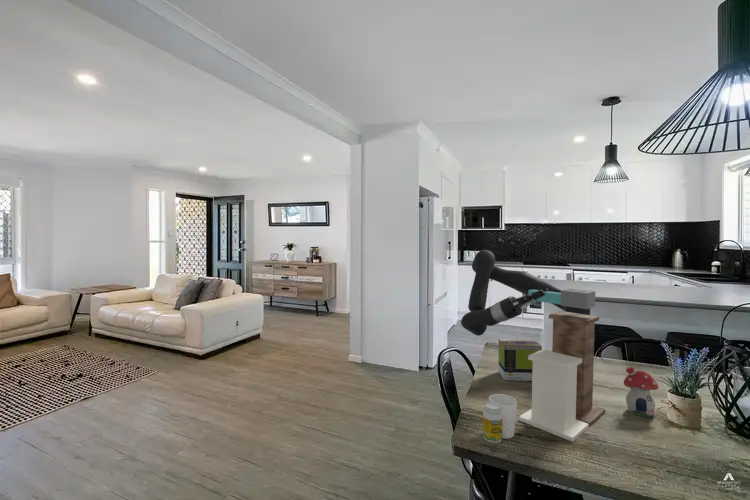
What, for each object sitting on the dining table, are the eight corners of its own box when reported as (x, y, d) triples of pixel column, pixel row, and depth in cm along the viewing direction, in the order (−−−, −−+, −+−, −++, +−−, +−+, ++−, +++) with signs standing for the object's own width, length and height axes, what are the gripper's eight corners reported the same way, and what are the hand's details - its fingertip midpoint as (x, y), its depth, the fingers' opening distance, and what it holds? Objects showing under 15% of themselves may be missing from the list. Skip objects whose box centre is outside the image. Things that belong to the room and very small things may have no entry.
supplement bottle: (494, 432, 108) (494, 400, 108) (506, 441, 103) (506, 408, 103) (478, 435, 107) (479, 402, 106) (490, 445, 102) (490, 411, 101)
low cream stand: (588, 427, 111) (590, 359, 111) (572, 441, 103) (574, 368, 103) (536, 408, 123) (538, 347, 123) (519, 420, 116) (520, 354, 115)
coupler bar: (594, 306, 120) (595, 291, 120) (586, 309, 115) (587, 293, 115) (534, 298, 135) (535, 285, 135) (525, 300, 130) (525, 286, 130)
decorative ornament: (622, 412, 121) (623, 367, 121) (623, 405, 127) (624, 362, 126) (657, 421, 116) (659, 374, 115) (657, 413, 121) (658, 368, 121)
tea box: (533, 373, 156) (534, 339, 156) (542, 382, 146) (543, 345, 146) (497, 371, 158) (498, 337, 157) (503, 380, 148) (504, 344, 147)
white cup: (514, 427, 111) (514, 395, 111) (518, 441, 103) (519, 406, 103) (487, 424, 113) (487, 392, 112) (489, 437, 105) (489, 403, 105)
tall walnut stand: (605, 412, 121) (608, 316, 120) (589, 426, 112) (592, 323, 111) (555, 396, 133) (558, 309, 132) (538, 408, 124) (540, 314, 123)
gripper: (491, 302, 137) (531, 283, 125) (511, 298, 146) (549, 280, 134) (500, 321, 134) (541, 304, 122) (519, 316, 143) (559, 299, 132)
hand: (545, 291), depth 128 cm, fingers closed on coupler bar, 3 cm apart
